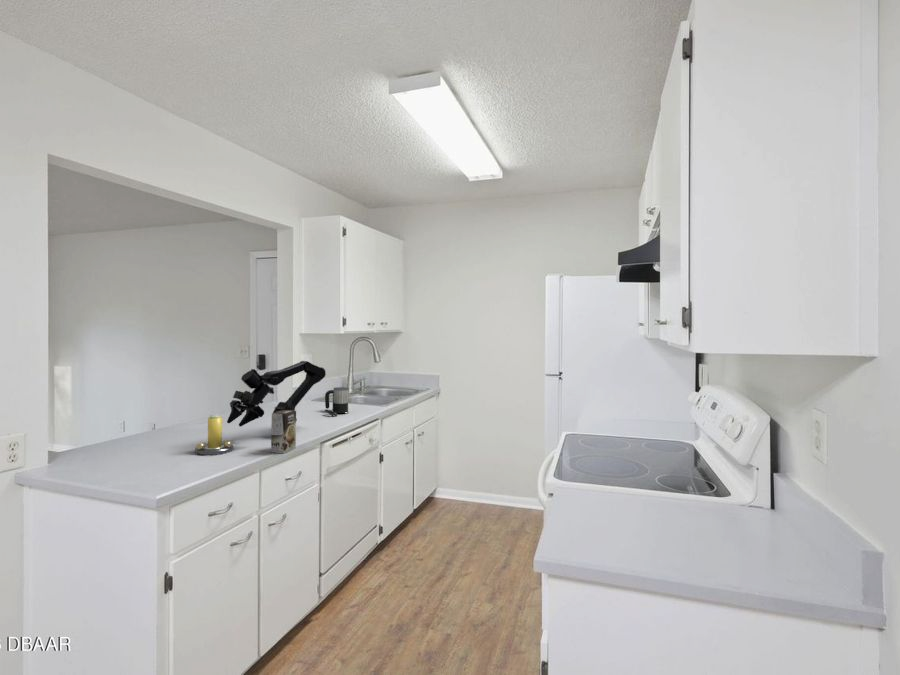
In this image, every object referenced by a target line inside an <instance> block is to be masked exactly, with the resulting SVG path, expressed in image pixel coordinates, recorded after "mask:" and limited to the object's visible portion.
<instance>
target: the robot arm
mask: <svg viewBox="0 0 900 675" xmlns="http://www.w3.org/2000/svg"><path fill="white" fill-rule="evenodd" d="M302 372H304V373H305V378H304V380H302V383H301V384H299V386H298V387H297V388H296V389H295V390H294V391H293V393H292V394H291V395H290V396H289V398H288V399H286V401H279V402H278V403H277V405H276V406H275V407H274V409H273V411H272V413H275V412H278V411H282V410H295V411H296V407H297V406H298V404H299V403H301V401H302V400H303V398H304V397H305V396H306V395H307V394H308V392H309V391H310V390H311V389H312V387H313V386H315V385H316V384H317V383H320V382H321V381H322V380H324V379H325V377H326V370H325V368H324V367H320V366H317V365H315V364H313V363H311V362H310V361H307V360H301V361H299V362H297V363H295V364H293V365H290V366H287V367H284V368H282V369H278V370H271V371H270V370H269V371H266V372H264V373H263V374H260V373H259V372H257V370H256V369H254V368H251V369H250V370H248V371H247V372H246V373H244V374H243V375H242V376H241V381H242V382H243V383H244V384H245V385H246V386H247V387H248V388H249V389H253V390H252V391H251V392H250V391H248V390H245V391H244V392H243V391H239V390H235V391H234V394H233V395H232V396H233V397H232V398H233V400H231V401H230V402H229V405H230V409H231V412H230V414H229V415H228V419H227V421H226V423H227V424H231V423H232V422H234V421H235V420H237V418H240V417H241V416H242V415H243V414H244V412H245V414H244V416H243V417H242V419H241V420H240V422H239V423H238V426H239V427H243V426H245V425H247V424H248V423H251V422H253V421H255V420H257V419H260V418H262V417H263V416H264V415H265V410H264V409H263V408H261V406H260V404H263V403H264V401H263V400H264V399H265V398H266V396H268V394H271V395H272V394H273V395H274V394H275V391H274V387H270V386H278V385H280V384H281V383H283V382H284V381H285V380H286V379H288V378H290V377H292V376H294V375H297V374H299V373H302ZM297 421H298V419H297V418H296V422H297Z"/></svg>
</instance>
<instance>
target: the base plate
mask: <svg viewBox="0 0 900 675" xmlns="http://www.w3.org/2000/svg"><path fill="white" fill-rule="evenodd" d="M232 450H233V451H234V444H233V443H232V442H231V441H229V440H227V441H224V442H222V447H220V448H214V449H211V448H208V443H203V442H200V443H197V444H196V447H195V449H194V453H195V454H196V453H197V454H200V455H199V456H204V455H210V456H218V455H217V454H220V455H224V454H223V453H225V454H228V453H227V452H229V453H231V452H233V451H232ZM230 451H231V452H230ZM197 454H196V455H197Z"/></svg>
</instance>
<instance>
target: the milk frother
mask: <svg viewBox="0 0 900 675" xmlns="http://www.w3.org/2000/svg"><path fill="white" fill-rule="evenodd" d="M349 390H350V388H349V387H345V386H344V387H340V386H339V387H337V386H336V387H333V388H332V389H330V390H327V391H326V392H325V394H324V403H325V404H324V405H325V409H324V412H325V413H327V414H328V415H330V416H331V417H333V416H335V415H338V414H337V413H345V412H348V413H349ZM331 394H332V410H330V395H331Z"/></svg>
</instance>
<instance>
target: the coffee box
mask: <svg viewBox="0 0 900 675" xmlns="http://www.w3.org/2000/svg"><path fill="white" fill-rule="evenodd" d="M296 419H297V410H296V409H295V410H282V411H278V412H275V413H273V412H272V413H271V427H270V428H271V429H270V430H271V435H270V440H271V441H270V442H271V443H270V444H271V445H270V453H274V452H275V453H277V454H286V453H288V452H290V451H292V450H295V449H296V448H297V447H296V446H297V445H296V444H297V439H296V436H297V421H296Z"/></svg>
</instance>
